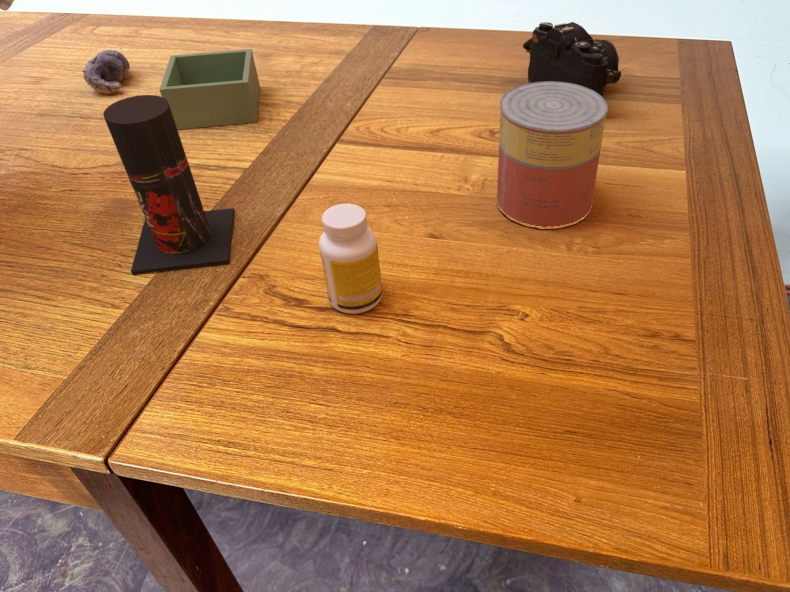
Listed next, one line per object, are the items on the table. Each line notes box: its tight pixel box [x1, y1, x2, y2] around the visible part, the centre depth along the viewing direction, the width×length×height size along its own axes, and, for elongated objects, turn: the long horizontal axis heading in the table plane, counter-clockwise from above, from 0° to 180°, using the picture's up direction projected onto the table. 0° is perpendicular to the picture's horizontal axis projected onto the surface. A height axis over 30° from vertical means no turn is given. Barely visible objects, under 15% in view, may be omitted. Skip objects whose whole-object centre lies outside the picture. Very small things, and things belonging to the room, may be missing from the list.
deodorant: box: [102, 94, 211, 255], centre depth 68 cm, size 6×6×15 cm
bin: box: [159, 48, 261, 131], centre depth 95 cm, size 12×12×6 cm
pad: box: [130, 207, 236, 276], centre depth 74 cm, size 10×10×1 cm
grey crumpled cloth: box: [82, 49, 131, 94], centre depth 102 cm, size 5×5×10 cm
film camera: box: [522, 21, 622, 98], centre depth 95 cm, size 18×12×10 cm
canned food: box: [496, 81, 609, 227], centre depth 74 cm, size 11×11×12 cm
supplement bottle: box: [318, 203, 383, 315], centre depth 63 cm, size 5×5×10 cm
